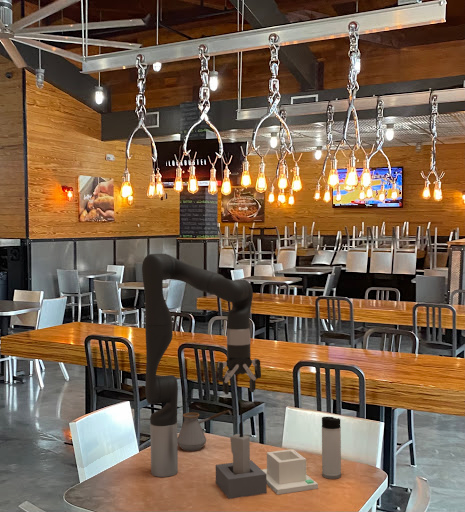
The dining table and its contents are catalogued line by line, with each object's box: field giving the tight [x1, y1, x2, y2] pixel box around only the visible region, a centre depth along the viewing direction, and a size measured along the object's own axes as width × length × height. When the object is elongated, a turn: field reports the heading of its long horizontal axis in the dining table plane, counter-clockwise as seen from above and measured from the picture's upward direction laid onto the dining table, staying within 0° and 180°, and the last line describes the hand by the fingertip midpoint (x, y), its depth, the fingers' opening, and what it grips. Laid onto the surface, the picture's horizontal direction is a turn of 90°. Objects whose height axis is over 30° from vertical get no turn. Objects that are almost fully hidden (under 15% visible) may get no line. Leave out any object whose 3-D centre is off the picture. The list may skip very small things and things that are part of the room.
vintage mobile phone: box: [229, 410, 251, 475], centre depth 197 cm, size 4×5×25 cm
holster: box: [215, 459, 268, 500], centre depth 198 cm, size 14×12×6 cm
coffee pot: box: [177, 409, 232, 452], centre depth 237 cm, size 21×12×15 cm, turn 83°
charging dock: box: [261, 448, 319, 496], centre depth 203 cm, size 18×14×8 cm
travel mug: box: [321, 416, 342, 480], centre depth 207 cm, size 6×7×20 cm
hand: (239, 392), depth 197 cm, fingers open, 8 cm apart
